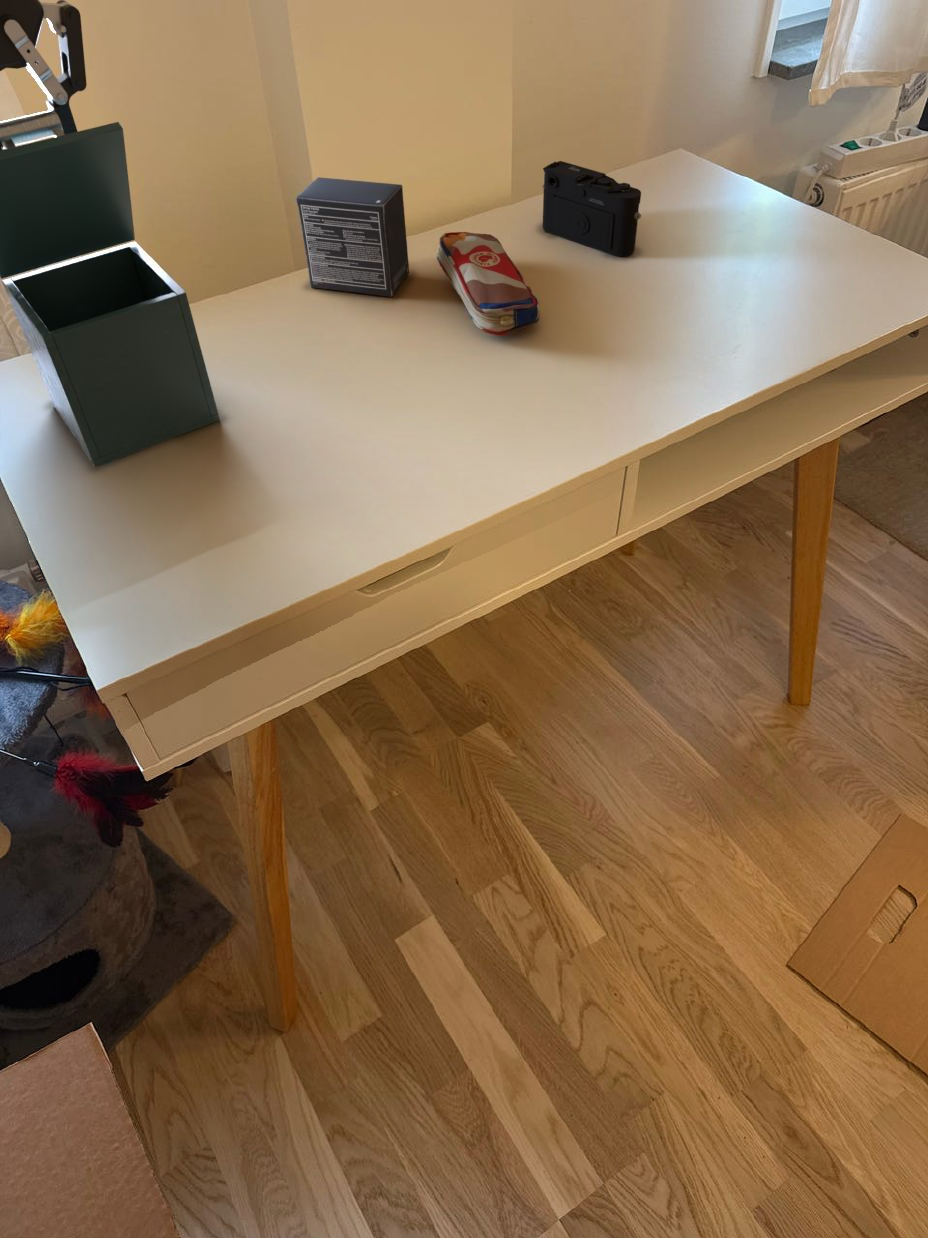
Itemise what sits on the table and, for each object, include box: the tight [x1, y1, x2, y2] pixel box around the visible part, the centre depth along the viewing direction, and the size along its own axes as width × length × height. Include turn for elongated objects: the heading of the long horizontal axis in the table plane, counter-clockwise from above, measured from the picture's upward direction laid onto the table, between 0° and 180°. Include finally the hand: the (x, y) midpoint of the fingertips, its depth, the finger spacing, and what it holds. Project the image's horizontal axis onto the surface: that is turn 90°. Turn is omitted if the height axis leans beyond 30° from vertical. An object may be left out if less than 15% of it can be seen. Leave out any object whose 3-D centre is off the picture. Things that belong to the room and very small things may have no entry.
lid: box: [0, 110, 136, 280], centre depth 80 cm, size 14×13×5 cm
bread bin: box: [1, 241, 221, 468], centre depth 88 cm, size 13×13×13 cm
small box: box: [295, 176, 410, 297], centre depth 106 cm, size 11×6×10 cm, turn 72°
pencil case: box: [436, 231, 542, 336], centre depth 104 cm, size 11×20×5 cm, turn 2°
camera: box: [541, 160, 642, 258], centre depth 113 cm, size 14×7×8 cm, turn 49°
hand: (35, 157), depth 79 cm, fingers closed on lid, 5 cm apart
